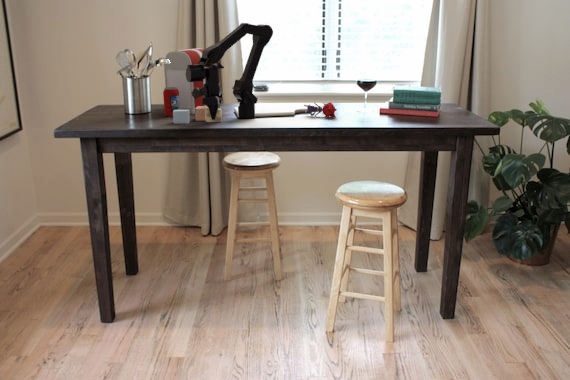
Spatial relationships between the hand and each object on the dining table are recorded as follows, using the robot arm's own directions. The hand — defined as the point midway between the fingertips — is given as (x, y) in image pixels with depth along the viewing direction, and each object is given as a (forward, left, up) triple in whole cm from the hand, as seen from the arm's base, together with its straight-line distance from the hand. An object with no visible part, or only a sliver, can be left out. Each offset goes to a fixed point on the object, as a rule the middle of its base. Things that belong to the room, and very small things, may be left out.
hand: (214, 118), depth 251 cm
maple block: (0, 0, -1) cm, 1 cm away
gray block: (+13, +2, -1) cm, 13 cm away
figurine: (-44, -7, -1) cm, 45 cm away
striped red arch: (+14, -30, -1) cm, 33 cm away
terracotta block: (+6, -5, -1) cm, 8 cm away
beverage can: (+20, -14, -1) cm, 24 cm away
